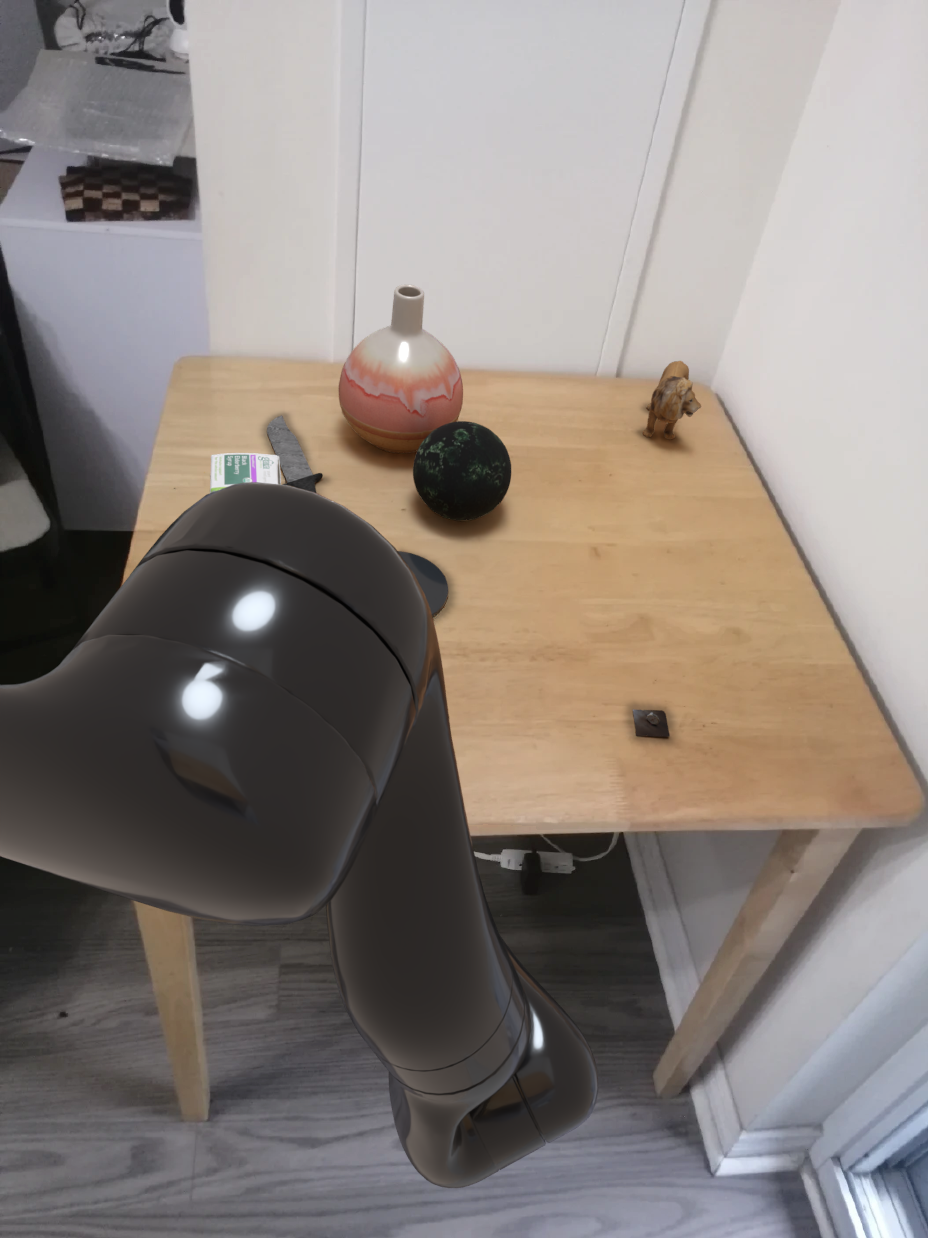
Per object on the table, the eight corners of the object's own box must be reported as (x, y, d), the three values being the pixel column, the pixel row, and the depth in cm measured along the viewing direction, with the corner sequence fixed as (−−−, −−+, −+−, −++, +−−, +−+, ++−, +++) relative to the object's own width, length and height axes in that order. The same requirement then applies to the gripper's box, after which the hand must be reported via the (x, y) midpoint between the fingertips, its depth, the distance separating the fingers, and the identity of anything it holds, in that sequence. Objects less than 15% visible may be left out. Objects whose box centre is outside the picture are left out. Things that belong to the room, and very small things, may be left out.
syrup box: (217, 581, 87) (206, 451, 77) (282, 578, 88) (279, 450, 78) (217, 624, 83) (205, 494, 73) (285, 621, 84) (282, 493, 74)
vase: (383, 487, 100) (394, 336, 88) (313, 423, 107) (314, 275, 95) (481, 450, 107) (504, 305, 95) (409, 393, 114) (422, 251, 102)
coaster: (326, 608, 86) (326, 604, 86) (364, 543, 93) (364, 539, 93) (429, 638, 85) (430, 634, 85) (460, 570, 92) (460, 566, 92)
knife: (250, 414, 106) (294, 409, 107) (251, 423, 106) (294, 417, 108) (298, 535, 91) (348, 527, 93) (299, 544, 92) (348, 536, 93)
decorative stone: (411, 539, 95) (419, 457, 88) (407, 479, 102) (414, 399, 95) (508, 542, 96) (524, 462, 89) (498, 483, 103) (512, 404, 96)
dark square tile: (636, 736, 80) (638, 726, 79) (632, 709, 82) (634, 700, 81) (669, 737, 80) (672, 728, 79) (665, 710, 82) (667, 701, 81)
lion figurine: (685, 459, 111) (708, 393, 104) (641, 451, 111) (661, 384, 105) (680, 395, 121) (701, 331, 115) (639, 388, 121) (658, 323, 115)
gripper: (492, 758, 58) (398, 585, 68) (266, 824, 53) (200, 627, 63) (477, 824, 63) (392, 655, 73) (269, 891, 58) (208, 699, 68)
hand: (303, 642), depth 68 cm, fingers open, 8 cm apart
